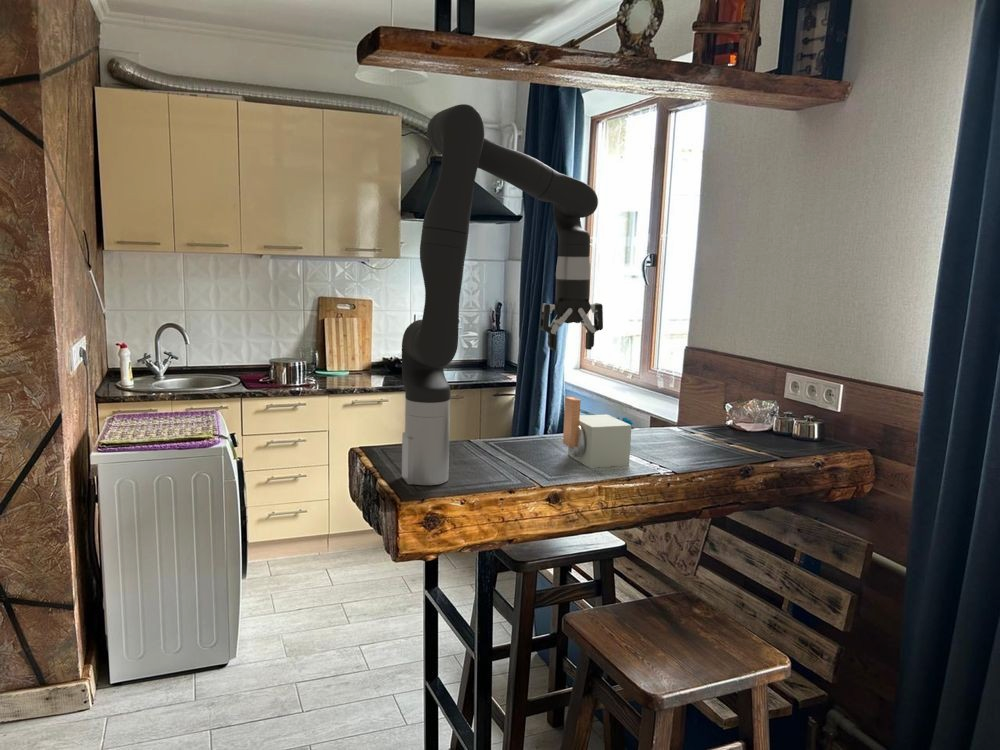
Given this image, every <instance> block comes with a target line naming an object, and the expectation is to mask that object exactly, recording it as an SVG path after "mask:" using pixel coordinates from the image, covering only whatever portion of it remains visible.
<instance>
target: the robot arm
mask: <svg viewBox="0 0 1000 750" xmlns="http://www.w3.org/2000/svg"><path fill="white" fill-rule="evenodd" d="M426 129H427V131H426V134H427V139H428V142H429V144H430V146H431V147H432V148H433V149H434V151H436V153H438V154H440V155H441V166H440V172H439V177H438V181H437V184H436V186H435V188H434V190H433V194H432V196H431V198H430V201H429V203H428V206H427V208H426V211H425V214H424V216H423V222H422V229H421V237H420V245H419V261H420V262H419V263H420V268H421V273H422V279H423V284H424V291H425V293H424V296H425V297H424V307H423V313H422V318H421V319H417V320H415V321H412V323H410V324H409V325H408V326H407V327H406V329H405V330H404V333H403V335H402V339H401V340H402V341H401V378H402V384H403V388H404V390H405V391H404V398H405V399H404V400H405V402H404V403H405V409H404V410H405V411H404V417H405V418H404V431H403V432H402V438H401V439H402V440H401V441H402V442H401V443H402V444H401V446H402V448H401V477H402V479H403V480H404V482H406V484H407V485H418V486H435V485H436V486H437V485H442V484H444V483H445V484H446V482H448V481H449V472H450V467H449V465H450V464H449V463H450V461H449V460H450V426H451V423H450V422H451V392H452V391H451V386H450V384H449V382H448V380H447V378H446V375H445V372H444V367H447V366H449V364H450V363H451V362H452V361H453V360H454V357H455V356H456V354H457V351H458V347H459V346H458V345H459V325H460V323H459V321H460V320H459V319H460V299H461V291H462V285H463V284H462V283H463V276H464V267H465V260H466V254H467V249H468V241H469V240H468V238H469V232H470V231H469V230H470V221H471V213H472V205H473V198H474V197H473V196H474V190H475V189H474V187H475V180H476V176H477V171H478V169H480V170H482V171H484V172H486V173H489V174H490V175H492V176H495V177H496V178H499V179H501V180H503V181H505V182H506V183H508V184H510V185H511V186H514V187H515V188H517V189H518V190H521V191H522V192H524V193H526V194H527V195H529V196H531V197H532V198H535V200H538V201H541V202H545V203H551V204H552V213H553V218H554V224H555V228H556V230H555V231H556V232H557V237H558V241H557V244H558V245H557V262H556V269H555V270H556V271H555V302H554V304H551V303H550V304H549V303H542V304H541V309H540V318H539V319H540V320H539V322H540V323H539V329H540V330H541V331H544V332H546V333H547V346H548V348H549V350H551V351H556V350H557V331H558V330H560V329H559V328H560V327H562V326H563V324H572V323H575V324H581V325H583V327H584V329H585V330H586V332H585V343H584V345H585V346H584V348H585V350H592V348H594V346H595V333H596V332H598V331H602V330H603V329H604V316H603V315H604V311H603V310H604V309H603V304H602V303H600V302H599V303H598V302H594V303H590V291H591V290H590V288H591V287H590V285H591V263H590V256H591V255H590V254H591V253H590V252H591V237H590V233H589V231H587V230H585V229H583V227H582V221H581V219H582V218H587V217H589V216H591V215H593V214H594V213H595V211H596V210H597V208H598V205H599V199H598V195H597V193H596V191H595V189H593V188H592V187H591V185H589V184H588V183H585V182H584V181H582V180H579V179H577V178H574V177H572V176H568V175H567V174H564V173H561V172H558V171H557V170H555V169H553V167H550V166H549V165H547V164H545V163H544V162H542V161H540V160H538V159H537V158H535V157H532V156H531V155H528V154H526V153H523V152H521V151H518V150H515V149H511V148H509V147H506V146H503V145H501V144H498V143H496V142H494V141H492V140H490V139H488V138H486V137H485V134H486V133H485V123H484V120H483V117H482V115H481V113H480V112H479V111H478V110H477V109H476V108H475V107H474V106H472V105H470V104H465V103H463V104H457V105H454V106H453V105H452V106H450V107H448V108H446V109H443V110H441V111H439V112H437V113H436V114H434V115H433V116H432V117H431V119H430V120H429V122H428V123H427V128H426ZM553 311H554V312H555V314H556V316H555V317H554V318H553V319H552V321H551V324H550V315H551V314H552V313H553ZM590 311H591V313H592V314H593V324H592V321H591V320H590V318H589V317H588V314H589V312H590Z"/></svg>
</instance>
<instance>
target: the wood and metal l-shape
mask: <svg viewBox="0 0 1000 750" xmlns="http://www.w3.org/2000/svg"><path fill="white" fill-rule="evenodd" d="M563 414H564V416H563V417H564V418H563V432H562V434H563V437H562V444H563V445H565V446H567V447H568V446H569V450H570V452H571V454H572V455H573V456H574V457H581V456H582V455H583V454H584V451H585V447H586V438H585V432H584V430H583V428H582V426H581V425H579V420H580V416H581V399H580V398H577V397H575V396H565V397H564V413H563Z"/></svg>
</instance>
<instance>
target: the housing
mask: <svg viewBox="0 0 1000 750" xmlns="http://www.w3.org/2000/svg"><path fill="white" fill-rule="evenodd" d="M616 418H617V417H614V416H612V415H609V414H606V413H604V414H585V415H581V414H580V420H579V425H581V426H582V428H583V430H584V432H585V438H586V447H585V451H584V454H583V455H582V456H581V457H574V456H573V455H572V454H571V452H570V450H569V446H567V455H568V456H570V457H571V458H573V459H575V460H576V461H578V462H579V463H581V464H583V465H584V466H586V467H587V468H589V469H598V468H597V467H600V468H611V466H615V467H625V466H627V467H628V466H630V458H631V457H630V455H631V439H632V429H631V427H633V424H632V425H630V424H628V423H627V422H626V423H625V422H623V420H622V419H620V420H619V419H616Z"/></svg>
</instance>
